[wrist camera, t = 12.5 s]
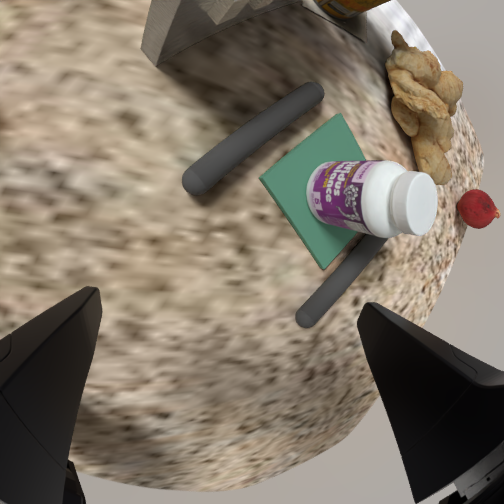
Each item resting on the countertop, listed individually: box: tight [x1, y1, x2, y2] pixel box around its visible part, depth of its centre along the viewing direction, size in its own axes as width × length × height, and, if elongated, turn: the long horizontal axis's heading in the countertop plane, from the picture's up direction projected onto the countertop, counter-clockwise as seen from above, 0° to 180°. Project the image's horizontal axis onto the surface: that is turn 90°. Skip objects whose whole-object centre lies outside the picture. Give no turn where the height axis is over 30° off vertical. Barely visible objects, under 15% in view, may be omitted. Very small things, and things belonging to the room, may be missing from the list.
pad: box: [259, 113, 366, 269], centre depth 24 cm, size 10×10×1 cm
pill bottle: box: [306, 160, 438, 238], centre depth 19 cm, size 5×5×10 cm
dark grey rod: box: [182, 82, 324, 195], centre depth 19 cm, size 14×2×2 cm, turn 128°
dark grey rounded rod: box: [296, 234, 388, 328], centre depth 26 cm, size 14×2×2 cm, turn 128°
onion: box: [457, 189, 500, 229], centre depth 32 cm, size 6×6×8 cm
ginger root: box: [385, 30, 463, 185], centre depth 24 cm, size 16×16×8 cm
